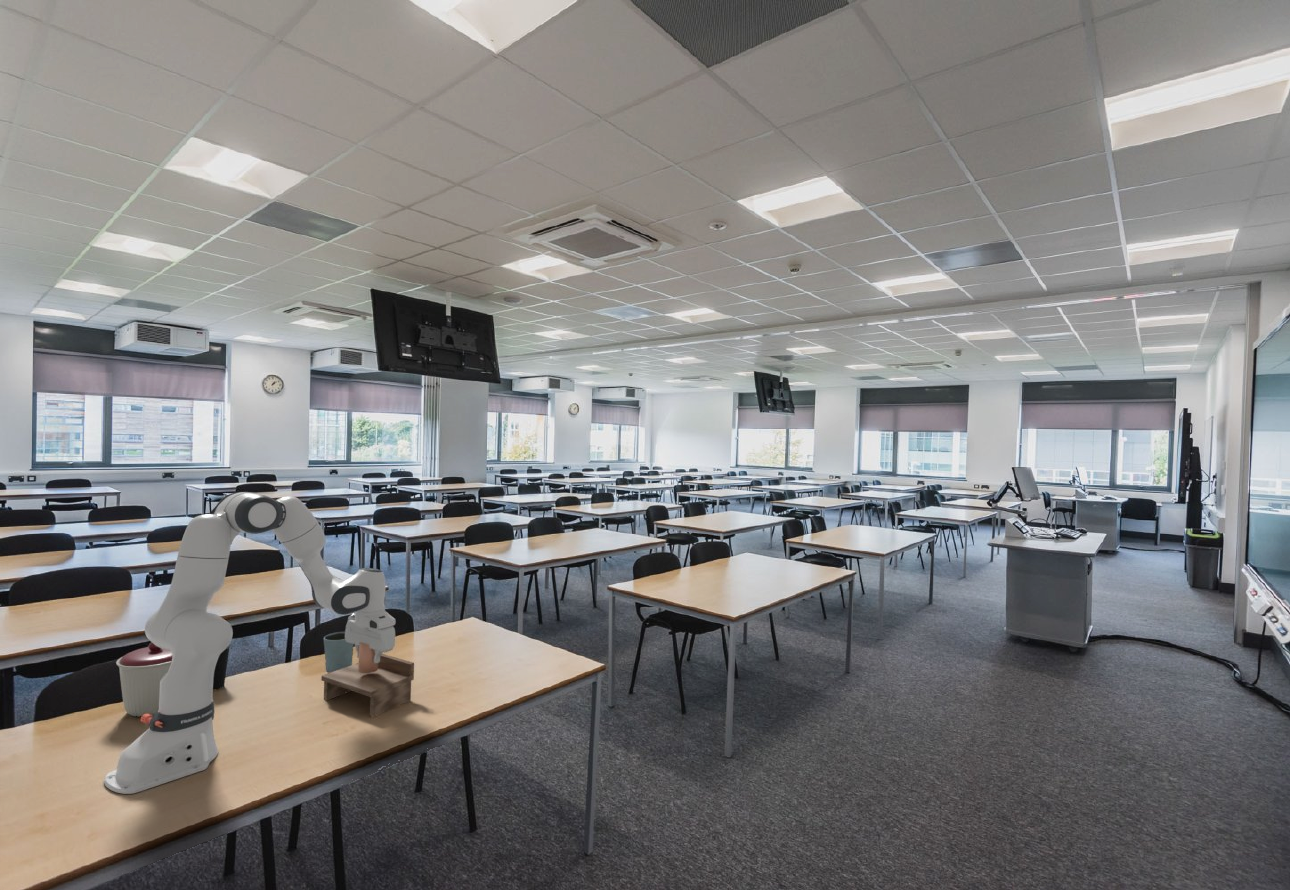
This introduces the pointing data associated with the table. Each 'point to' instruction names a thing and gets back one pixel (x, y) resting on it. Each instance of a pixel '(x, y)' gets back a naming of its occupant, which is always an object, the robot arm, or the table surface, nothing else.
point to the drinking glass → (337, 652)
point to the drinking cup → (220, 669)
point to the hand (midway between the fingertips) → (368, 660)
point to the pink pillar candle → (366, 659)
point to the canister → (143, 678)
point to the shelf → (374, 683)
